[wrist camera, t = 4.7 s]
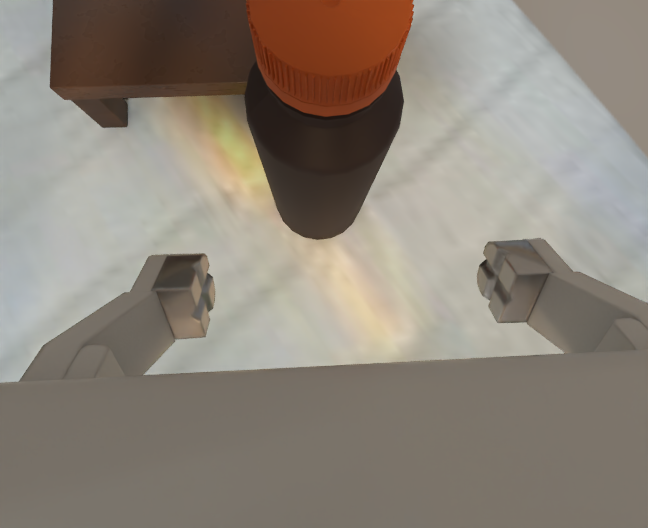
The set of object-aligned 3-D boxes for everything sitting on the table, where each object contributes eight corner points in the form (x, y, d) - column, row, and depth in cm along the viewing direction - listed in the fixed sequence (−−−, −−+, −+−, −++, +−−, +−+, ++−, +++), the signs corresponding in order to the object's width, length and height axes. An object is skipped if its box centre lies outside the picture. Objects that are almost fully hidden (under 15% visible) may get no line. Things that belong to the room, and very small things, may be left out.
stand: (100, 130, 31) (49, 87, 25) (103, -36, 33) (56, -113, 27) (284, 124, 31) (278, 81, 26) (278, -39, 33) (270, -115, 27)
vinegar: (361, 160, 31) (445, -98, 11) (359, 242, 30) (448, 115, 11) (278, 157, 31) (219, -111, 11) (274, 239, 30) (204, 104, 10)
